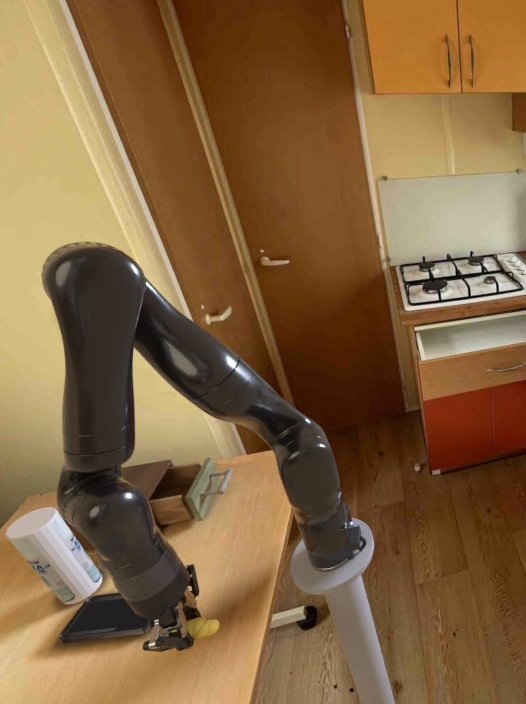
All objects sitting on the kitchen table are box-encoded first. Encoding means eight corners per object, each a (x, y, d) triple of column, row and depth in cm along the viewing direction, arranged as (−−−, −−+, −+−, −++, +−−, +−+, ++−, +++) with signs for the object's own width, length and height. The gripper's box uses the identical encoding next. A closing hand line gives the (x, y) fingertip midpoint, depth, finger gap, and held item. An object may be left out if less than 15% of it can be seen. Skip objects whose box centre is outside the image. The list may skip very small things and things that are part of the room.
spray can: (53, 595, 83) (-2, 529, 74) (94, 567, 89) (47, 501, 80) (69, 611, 81) (13, 544, 72) (110, 581, 86) (63, 515, 77)
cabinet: (184, 487, 107) (171, 459, 103) (159, 533, 96) (143, 504, 91) (117, 499, 104) (100, 470, 100) (83, 548, 92) (61, 519, 88)
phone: (88, 596, 82) (171, 587, 84) (91, 599, 83) (173, 590, 84) (54, 641, 75) (144, 630, 77) (57, 644, 76) (147, 634, 77)
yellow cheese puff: (224, 614, 77) (217, 609, 75) (220, 635, 74) (213, 630, 72) (165, 630, 74) (156, 625, 73) (158, 652, 72) (149, 647, 70)
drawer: (242, 475, 109) (233, 453, 106) (226, 515, 99) (215, 492, 95) (160, 490, 105) (148, 467, 102) (134, 533, 95) (120, 509, 91)
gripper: (158, 614, 61) (201, 673, 69) (195, 530, 73) (227, 588, 81) (97, 630, 59) (148, 689, 67) (144, 541, 71) (183, 600, 79)
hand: (191, 634), depth 74 cm, fingers closed on yellow cheese puff, 3 cm apart
